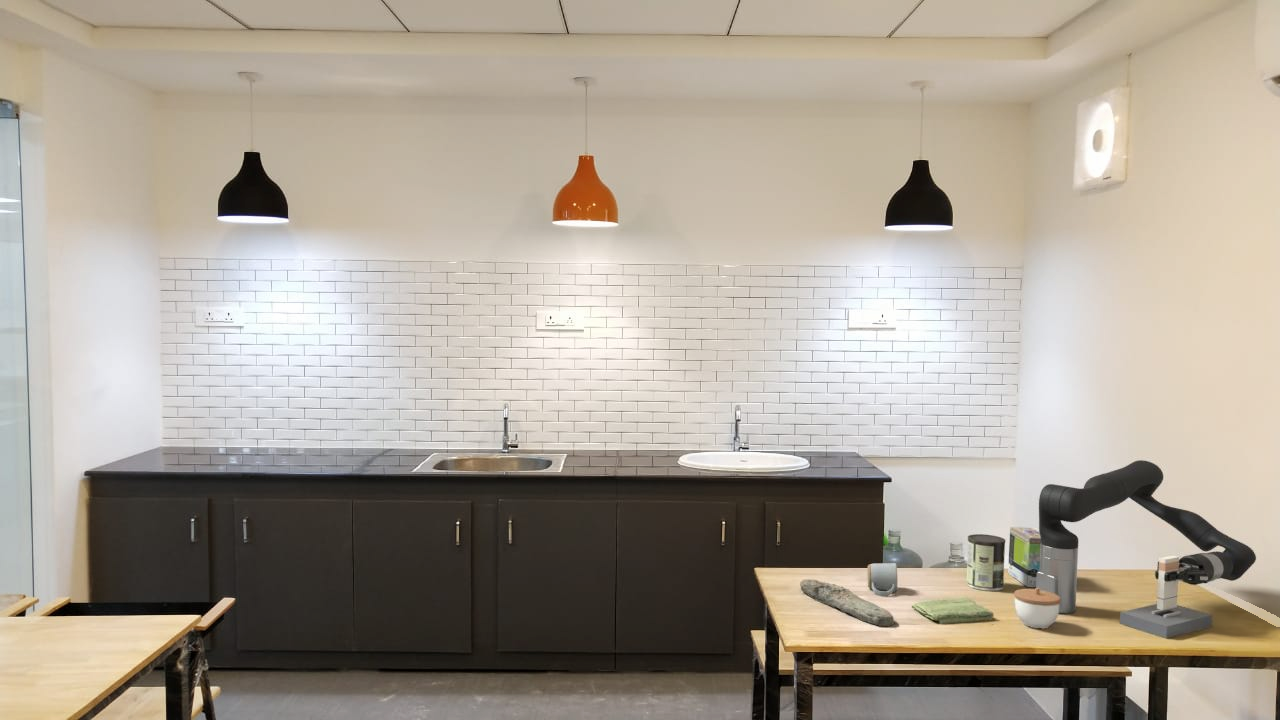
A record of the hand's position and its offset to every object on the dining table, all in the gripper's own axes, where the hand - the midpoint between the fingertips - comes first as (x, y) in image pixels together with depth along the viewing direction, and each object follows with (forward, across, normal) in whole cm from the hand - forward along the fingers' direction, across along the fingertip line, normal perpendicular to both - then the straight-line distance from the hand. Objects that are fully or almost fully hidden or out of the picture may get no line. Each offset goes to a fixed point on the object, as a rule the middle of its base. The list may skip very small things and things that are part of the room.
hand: (1161, 576), depth 233 cm
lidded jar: (+28, +15, -13) cm, 34 cm away
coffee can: (+12, +45, -13) cm, 48 cm away
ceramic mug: (+42, +54, -13) cm, 70 cm away
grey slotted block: (-3, 0, -13) cm, 13 cm away
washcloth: (+41, +30, -14) cm, 53 cm away
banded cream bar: (-3, 0, -10) cm, 10 cm away
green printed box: (-6, +42, -13) cm, 44 cm away
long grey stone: (+62, +48, -14) cm, 80 cm away
